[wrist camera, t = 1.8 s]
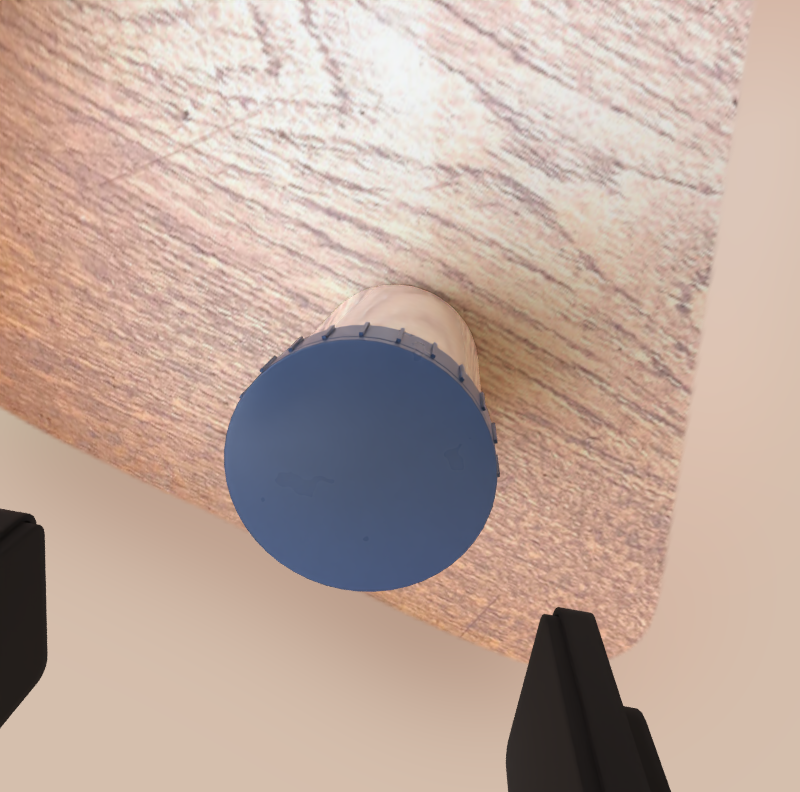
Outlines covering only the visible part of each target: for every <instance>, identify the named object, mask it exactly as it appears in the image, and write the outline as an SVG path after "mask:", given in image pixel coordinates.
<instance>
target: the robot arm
mask: <svg viewBox="0 0 800 792" xmlns="http://www.w3.org/2000/svg"><path fill="white" fill-rule="evenodd" d="M45 577H46V576H45V534H44V529H43V527H42V526H41V525H37V524H36V520H35V518H34V516H32V515H31V514H27V513H22V512H15V511H10V510H5V509H0V728H1V726H2V725H3V724H4V723H5V722H6V720H7V719H8V718H9V717H10V715H11V714H12V713H13V712H14V711H15V709H16V708H17V707H18V706H19V705H20V703H21V702H22V701H23V700H24V698H25V697H26V696H27V695H28V694H29V692H30V691H31V690H32V689H33V687H34V686H35V685H36V684H37V683H38V681H39V680H40V678H41V676H42V674H43V672H44V670H45V667H46V663H47V621H46V620H47V619H46V578H45ZM506 771H507V782H508V792H671V790H670V788H669V785H668V782H667V779H666V776H665V774H664V771H663V768H662V765H661V762H660V760H659V757H658V754H657V751H656V748H655V745H654V742H653V739H652V737H651V734H650V731H649V728H648V725H647V723H646V720H645V718H644V716H643V714H642V713H641V712H640V711H639V710H638V709H636V708H631V707H625V706H623V704H622V701H621V698H620V695H619V691H618V688H617V685H616V682H615V679H614V676H613V673H612V670H611V667H610V663H609V660H608V657H607V654H606V651H605V648H604V645H603V641H602V638H601V635H600V632H599V629H598V626H597V623H596V620H595V617H594V615H593V614H592V613H588V612H583V611H577V610H571V609H566V608H560V607H557V608H556V609H555V611H554V613H553V616H552V615H547V614H543V615H542V617H541V620H540V623H539V626H538V630H537V634H536V638H535V642H534V645H533V649H532V653H531V657H530V660H529V664H528V668H527V672H526V676H525V679H524V683H523V687H522V691H521V694H520V698H519V702H518V706H517V709H516V713H515V717H514V721H513V725H512V728H511V732H510V736H509V740H508V745H507V753H506Z"/></svg>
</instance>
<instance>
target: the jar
mask: <svg viewBox="0 0 800 792" xmlns="http://www.w3.org/2000/svg"><path fill="white" fill-rule="evenodd" d="M365 322H370V325H374V326H383V327H389V328H393V329H397V330H400V329H401V328H405V331H404V332H407V333H410V334H412V335H415V336H418V337H420V338H422V339H424V340H425V341H427V342H429V343H431V344H433V343H434V342H435V343H437V344H438V345H437V347H438V348H439V349H440V350H442V351H443V352H445V353H446V354H447V355H449V356H450V357H451V358H452V359H453V360H454V361H455V362H456V363H457V364H458V365H461V364H463V365H464V366H465V372H466V373H467V375H468V376H469V377H470V378H471V379H472V381H473V382H474V384H475V386H476V387H477V389H478V390H479V392H481V386H480V375H479V363H478V355H477V349H476V345H475V342H474V339H473V336H472V334H471V332H470V330H469V328H468V326H467V325H466V323H465V321H464V320H463V319H462V317H461V316H460V315H459V314H458V312H457V311H456V310H455V309H454V308H453V307H451V306H450V305H449V304H448V303H447V302H445V301H444V300H443V299H441V298H440V297H438V296H436V295H434V294H432V293H431V292H428V291H426V290H423V289H420V288H417V287H413V286H408V285H399V284H392V285H381V286H375V287H372V288H369V289H365V290H363V291H361V292H359V293H356V294H354V295H353V296H351V297H350V298H348V299H346V300H345V301H344V302H343V303H342V304H340V305H339V306H338V307H337V308H336V309H335V310H334V311H333V312H332V313H331V314H330V315H329V316H328V318H327V319H326V320H325V321H324V322H323V323H322V324H321V325H320V326H319V327H318V328H317V329H316V330H315V331H314V332H313V333H312V334H311V335H313V334H316V333H318V332H322V331H325V330H327V329H328V328H329V327H330V326H331V325H335V328H336V327H343V326H349V325H364V324H365Z"/></svg>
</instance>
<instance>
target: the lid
mask: <svg viewBox="0 0 800 792" xmlns="http://www.w3.org/2000/svg"><path fill="white" fill-rule="evenodd" d="M404 331H405V328H401V329H400V330H397V329H393V328H389V327H383V326H374V325H370V322H365V324H364V325H349V326H343V327H336V328H335V325H331V326H330V327H329V328H328V329H327V330H325V331H322V332H318V333H316V334H313V335H311V336H309V337H307V338H305V339H303V337H300V338H298V339H297V340H296V341H295V342H294V343H293V344H292V345H291V346H290V347H289V348H288V349H287V350H286V351H285V352H283V353H282V354H281V355H280V356H279V357H276V356H274V357H273V358H272V359H271V360H270V361H269V362H268V363H267V364H266V365H265V366H263V367H262V368H261V369H260V372H262V373H261V374H260V375H259V376H258V377H257V378H256V379H255V381H254V382H253V383H252V384H251V385H250V386H249V387H248V388H247V389H246V390H245V391H244V392H243V393H242V394H241V396H240V398H241V399H240V401H239V402H238V404H237V406H236V409H235V411H234V413H233V415H232V417H231V420H230V424H229V427H228V431H227V435H226V441H225V448H224V467H225V474H226V482H227V485H228V489H229V493H230V496H231V499H232V502H233V504H234V506H235V509H236V511H237V513H238V515H239V517H240V518H241V520H242V522H243V523H244V525H245V527H246V528H247V530H248V531H249V532H250V534H251V535H252V536H253V538H254V539H255V540H256V541H257V542H258V543H259V544H260V545H261V546H262V547H263V548H264V549H265V551H267V553H269V554H270V555H271V556H272V557H274V558H275V559H276V560H277V561H278V562H280V563H281V564H283V565H284V566H286V567H287V568H289V569H291V570H292V571H294V572H295V573H297V574H299V575H301V576H304V577H305V578H307V579H310V580H312V581H315V582H318V583H321V584H323V585H326V586H330V587H335V588H339V589H344V590H352V591H369V592H376V591H386V590H394V589H398V588H403V587H407V586H410V585H413V584H416V583H419V582H422V581H424V580H426V579H428V578H430V577H432V576H434V575H436V574H438V573H440V572H441V571H443V570H444V569H446V568H447V567H449V566H450V565H452V564H453V563H454V562H455V561H456V560H457V559H458V558H460V557H461V556H462V555H463V554H464V553H465V552H466V551H467V550H468V548H469V547H470V546H471V545H472V544H473V543H474V541H475V540H476V538H477V537H478V535H479V534H480V532H481V531H482V529H483V528H484V525H485V523H486V521H487V519H488V517H489V515H490V512H491V509H492V507H493V502H494V499H495V493H496V486H497V477H500V471H499V463H498V455H496V450H495V444H496V443H498V442H497V434H496V426H495V423H491V419H490V416H489V412H488V409H487V407H486V405H485V396H484V393H483V392H479V390H478V389H477V387H476V386H475V384H474V382H473V381H472V379H471V378H470V377H469V376H468V375H467V373H466V372H465V366H464V365H463V364H461V365H458V364H457V363H456V362H455V361H454V360H453V359H452V358H451V357H450V356H449V355H447V354H446V353H445V352H443V351H442V350H440V349H439V348H438V347H437V345H438V344H437V343H435V342H434V343H433V344H431V343H429V342H427V341H425V340H424V339H422V338H420V337H418V336H415V335H412V334H410V333H407V332H404Z"/></svg>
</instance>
